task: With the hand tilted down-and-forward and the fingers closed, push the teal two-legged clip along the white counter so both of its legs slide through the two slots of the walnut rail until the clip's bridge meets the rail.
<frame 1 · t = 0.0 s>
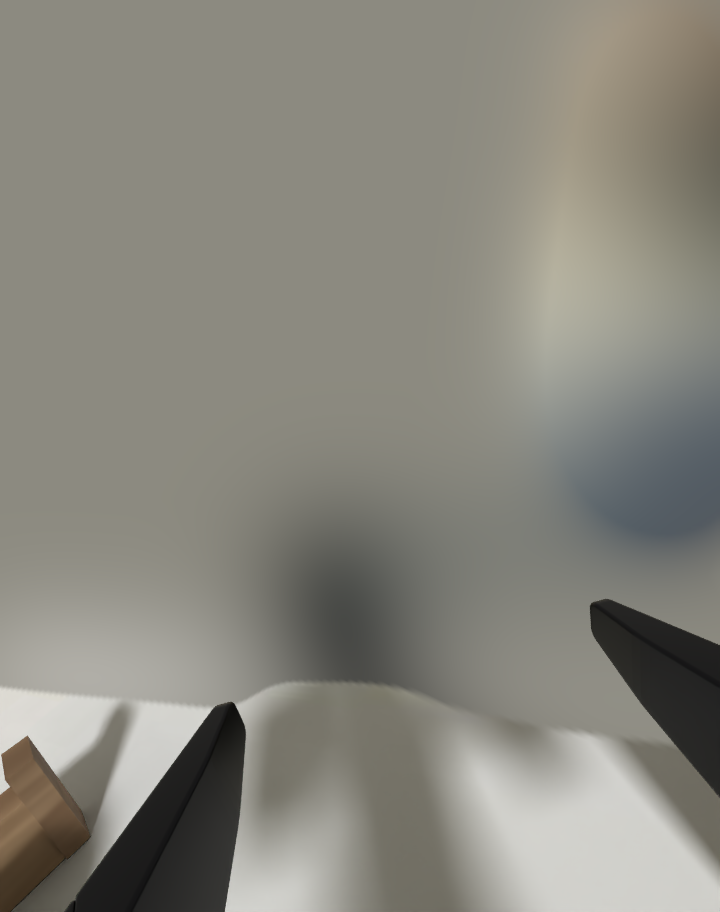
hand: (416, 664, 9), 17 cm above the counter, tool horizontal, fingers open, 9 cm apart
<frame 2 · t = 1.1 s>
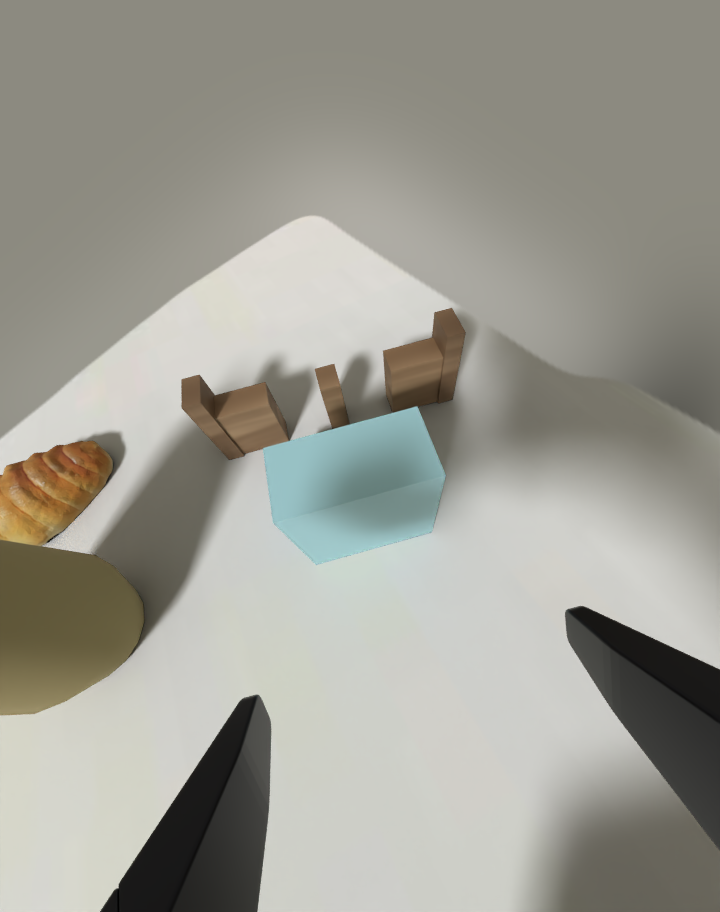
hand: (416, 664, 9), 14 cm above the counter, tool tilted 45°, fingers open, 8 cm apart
clip: (366, 520, 25), on the counter
squeeze bottle: (104, 629, 24), on the counter
pastry: (56, 502, 29), on the counter
rail: (338, 417, 29), on the counter
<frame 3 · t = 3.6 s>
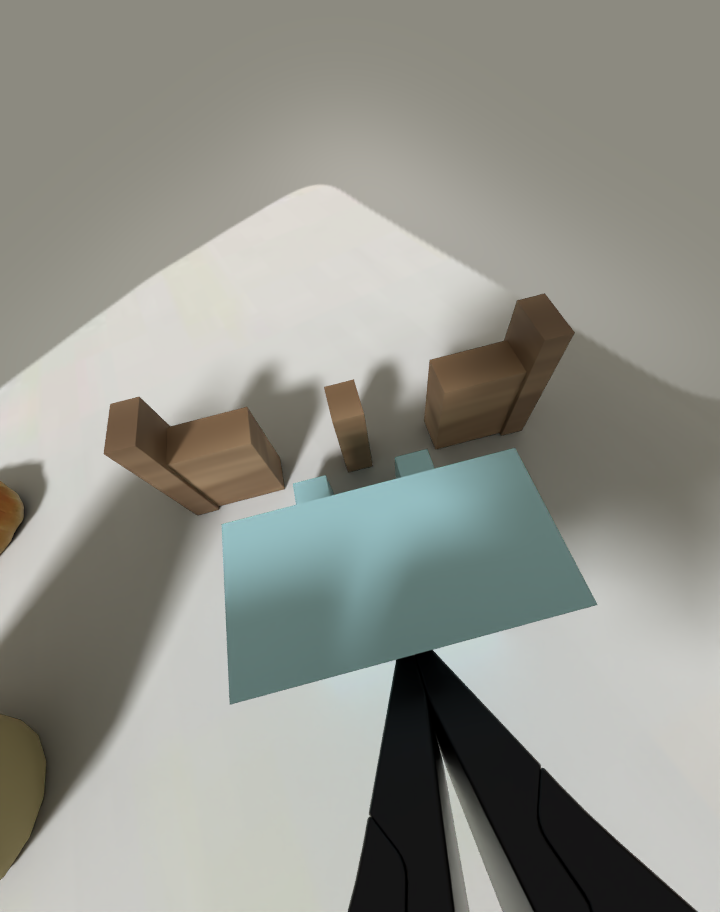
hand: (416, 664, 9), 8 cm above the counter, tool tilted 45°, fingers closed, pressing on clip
clip: (396, 603, 16), on the counter, touching gripper
rail: (356, 453, 20), on the counter
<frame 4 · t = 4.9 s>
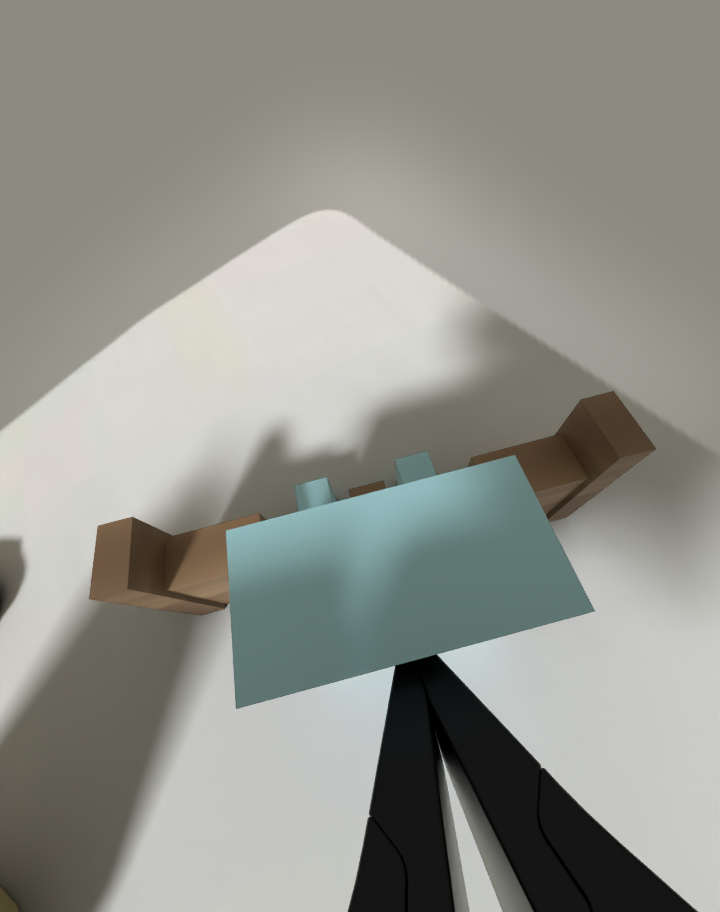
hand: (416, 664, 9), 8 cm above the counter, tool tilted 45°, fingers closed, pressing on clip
clip: (396, 604, 17), on the counter, touching gripper, rail
rail: (379, 541, 18), on the counter
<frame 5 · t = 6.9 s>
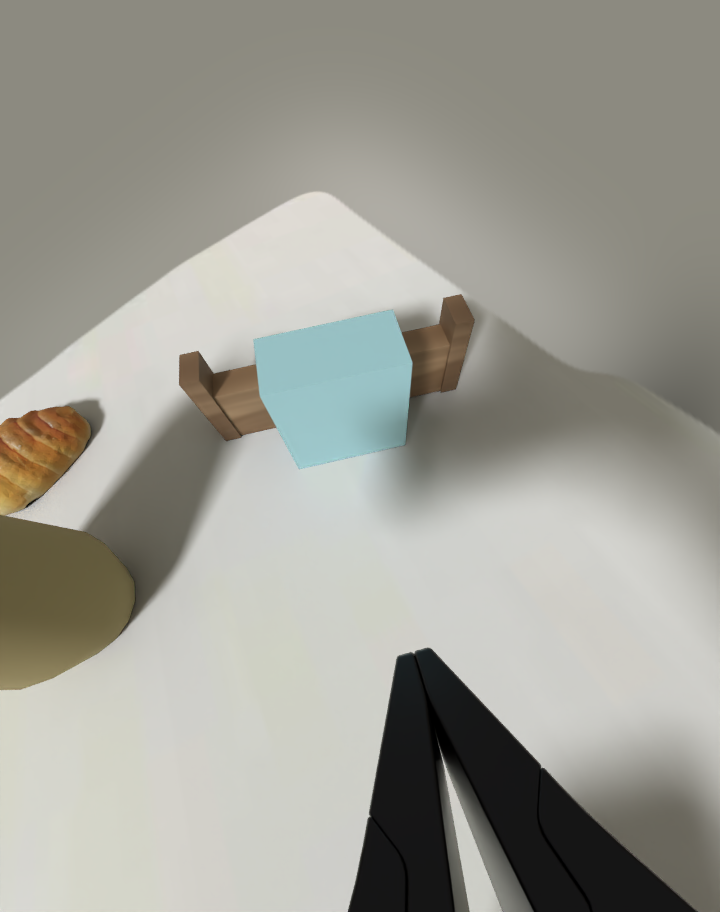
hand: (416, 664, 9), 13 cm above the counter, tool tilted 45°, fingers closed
clip: (347, 434, 27), on the counter, touching rail
squeeze bottle: (94, 607, 23), on the counter
pastry: (33, 469, 28), on the counter
rail: (339, 402, 29), on the counter
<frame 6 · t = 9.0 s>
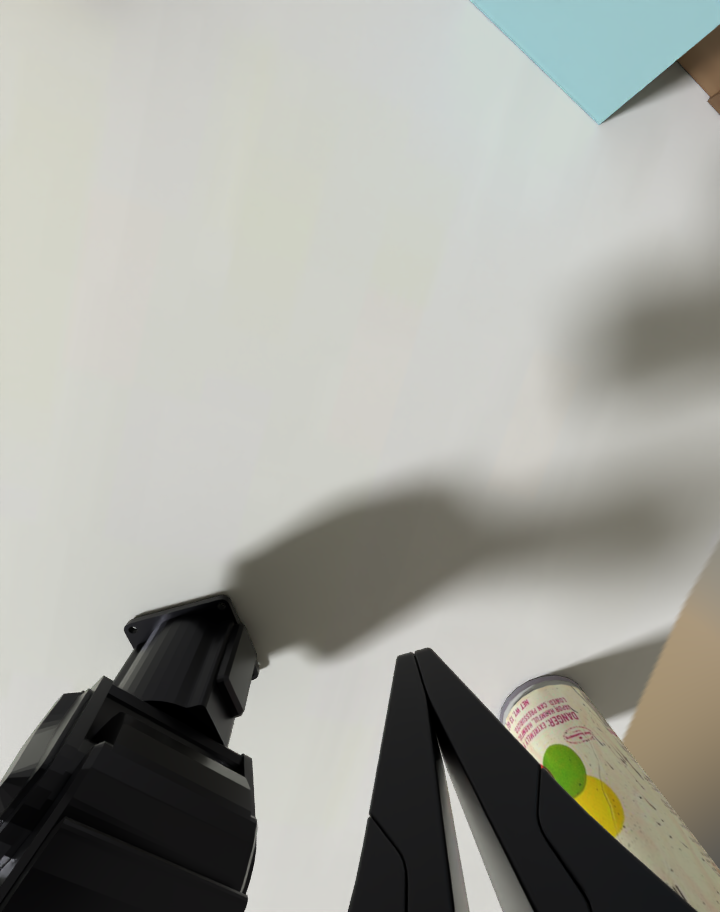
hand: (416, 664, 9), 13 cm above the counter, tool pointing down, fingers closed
clip: (564, 18, 16), on the counter, touching rail
aerosol can: (540, 708, 28), on the counter
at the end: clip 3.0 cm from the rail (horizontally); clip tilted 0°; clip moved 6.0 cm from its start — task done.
